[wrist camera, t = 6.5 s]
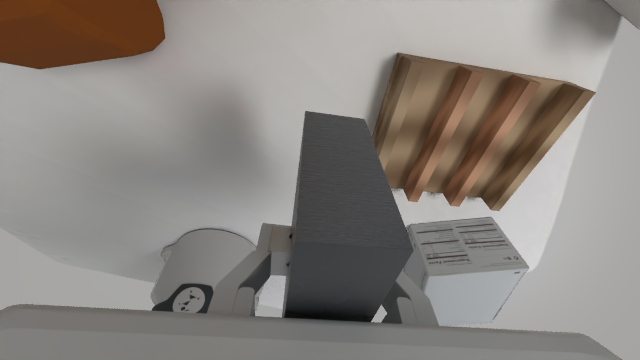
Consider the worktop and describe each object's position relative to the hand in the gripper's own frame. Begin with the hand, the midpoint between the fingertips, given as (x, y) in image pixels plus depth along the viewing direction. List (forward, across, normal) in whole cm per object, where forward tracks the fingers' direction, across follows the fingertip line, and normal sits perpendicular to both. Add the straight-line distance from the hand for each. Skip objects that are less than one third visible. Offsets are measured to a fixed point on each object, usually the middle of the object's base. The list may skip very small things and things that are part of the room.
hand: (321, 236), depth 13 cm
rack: (+19, +17, -2) cm, 25 cm away
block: (+4, 0, 0) cm, 4 cm away
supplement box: (+19, +26, -24) cm, 40 cm away
